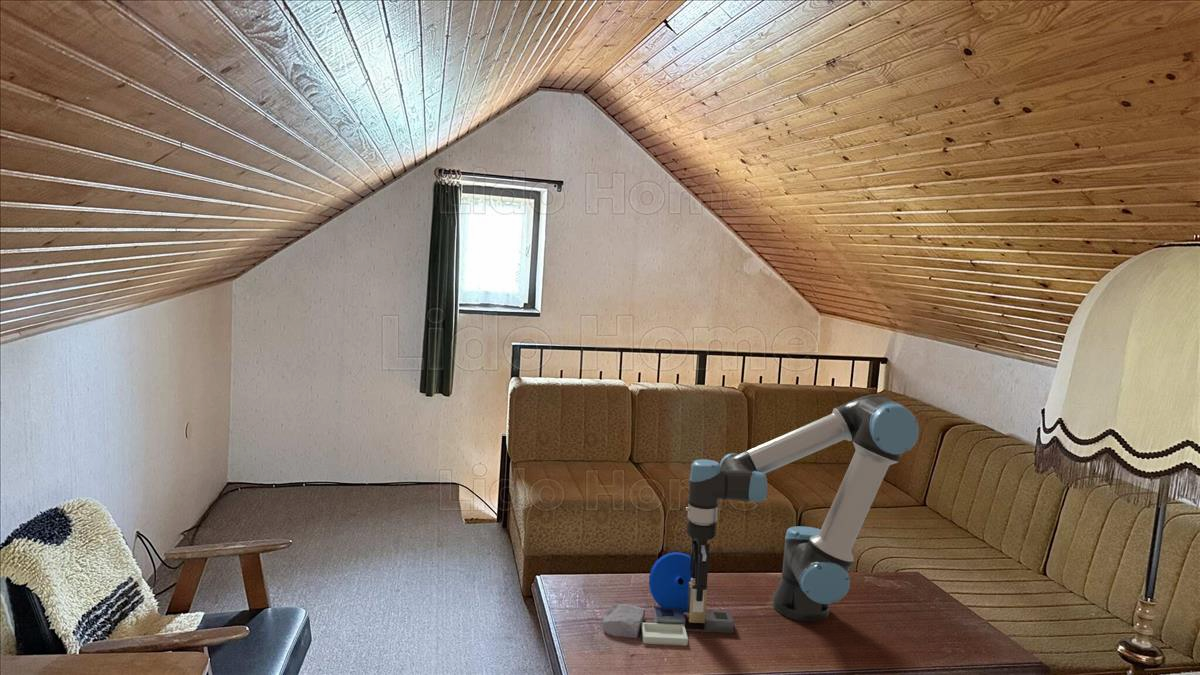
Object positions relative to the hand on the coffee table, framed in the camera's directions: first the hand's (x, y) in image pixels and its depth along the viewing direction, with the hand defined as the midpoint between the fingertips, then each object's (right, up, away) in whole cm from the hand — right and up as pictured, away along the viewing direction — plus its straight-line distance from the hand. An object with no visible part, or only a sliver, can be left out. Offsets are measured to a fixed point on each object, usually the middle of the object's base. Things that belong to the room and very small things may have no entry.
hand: (696, 606), depth 188 cm
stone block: (-19, -5, -2) cm, 20 cm away
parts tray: (-9, -5, -6) cm, 12 cm away
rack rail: (-1, -5, +1) cm, 5 cm away
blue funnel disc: (-4, +3, +10) cm, 12 cm away
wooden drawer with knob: (0, -3, 0) cm, 3 cm away
